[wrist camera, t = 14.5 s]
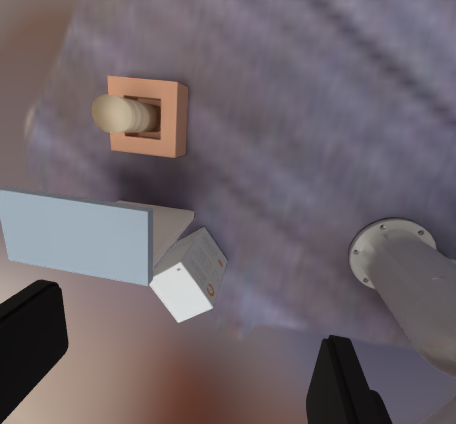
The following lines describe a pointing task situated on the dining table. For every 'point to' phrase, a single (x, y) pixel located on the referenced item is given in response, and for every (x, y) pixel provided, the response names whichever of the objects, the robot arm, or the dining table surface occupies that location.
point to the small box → (190, 275)
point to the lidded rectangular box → (89, 233)
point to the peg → (125, 115)
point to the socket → (170, 116)
